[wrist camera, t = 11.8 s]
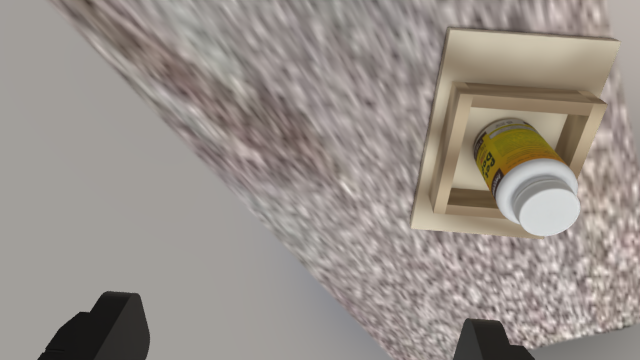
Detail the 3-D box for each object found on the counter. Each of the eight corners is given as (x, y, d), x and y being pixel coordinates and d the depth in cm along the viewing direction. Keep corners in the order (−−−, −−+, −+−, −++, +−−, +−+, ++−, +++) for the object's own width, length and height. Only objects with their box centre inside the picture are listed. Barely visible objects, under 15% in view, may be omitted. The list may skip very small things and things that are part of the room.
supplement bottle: (467, 125, 38) (503, 188, 29) (535, 109, 36) (595, 169, 28) (475, 179, 40) (510, 252, 31) (539, 166, 39) (594, 237, 30)
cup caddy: (447, 27, 35) (458, 38, 31) (614, 38, 34) (644, 51, 31) (409, 222, 44) (414, 247, 41) (539, 233, 44) (555, 259, 40)
